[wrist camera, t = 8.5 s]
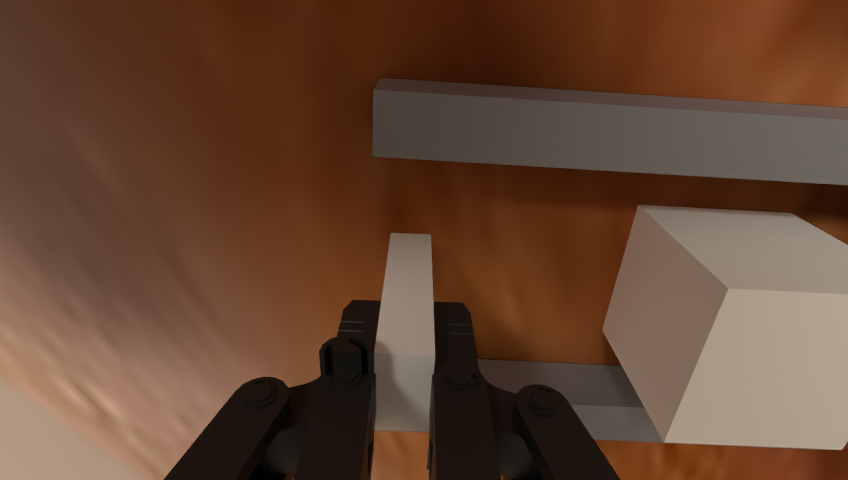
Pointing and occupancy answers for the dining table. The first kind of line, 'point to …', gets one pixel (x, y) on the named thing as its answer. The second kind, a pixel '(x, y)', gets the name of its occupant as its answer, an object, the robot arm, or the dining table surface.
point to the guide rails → (608, 151)
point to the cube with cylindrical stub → (734, 327)
